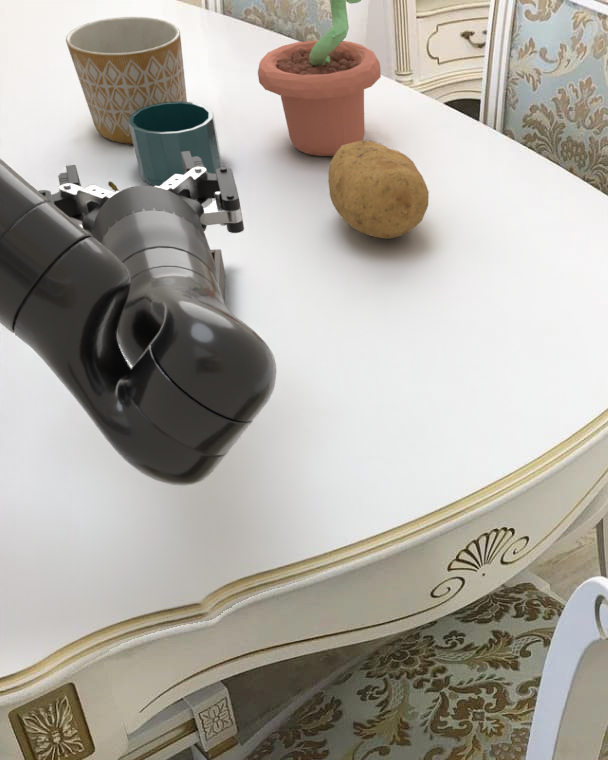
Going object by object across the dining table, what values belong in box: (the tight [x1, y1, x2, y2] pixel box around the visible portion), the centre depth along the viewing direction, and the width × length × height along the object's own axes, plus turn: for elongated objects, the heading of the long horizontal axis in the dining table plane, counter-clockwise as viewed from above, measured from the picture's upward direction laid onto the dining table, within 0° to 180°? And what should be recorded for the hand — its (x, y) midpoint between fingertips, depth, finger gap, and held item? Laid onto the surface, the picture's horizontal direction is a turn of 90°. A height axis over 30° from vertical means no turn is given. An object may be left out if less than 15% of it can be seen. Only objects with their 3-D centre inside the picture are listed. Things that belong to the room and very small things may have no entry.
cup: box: [128, 101, 223, 186], centre depth 124 cm, size 9×9×6 cm
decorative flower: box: [257, 0, 382, 157], centre depth 121 cm, size 15×14×30 cm
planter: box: [65, 16, 188, 145], centre depth 130 cm, size 13×13×10 cm
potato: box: [327, 140, 430, 240], centre depth 114 cm, size 10×14×8 cm
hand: (130, 170), depth 86 cm, fingers open, 8 cm apart
